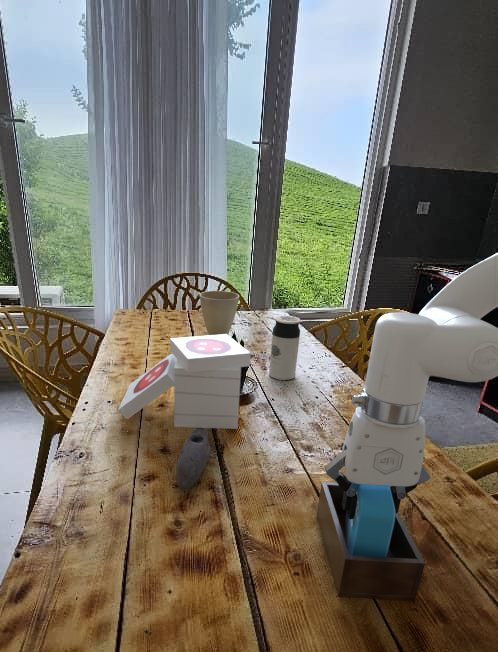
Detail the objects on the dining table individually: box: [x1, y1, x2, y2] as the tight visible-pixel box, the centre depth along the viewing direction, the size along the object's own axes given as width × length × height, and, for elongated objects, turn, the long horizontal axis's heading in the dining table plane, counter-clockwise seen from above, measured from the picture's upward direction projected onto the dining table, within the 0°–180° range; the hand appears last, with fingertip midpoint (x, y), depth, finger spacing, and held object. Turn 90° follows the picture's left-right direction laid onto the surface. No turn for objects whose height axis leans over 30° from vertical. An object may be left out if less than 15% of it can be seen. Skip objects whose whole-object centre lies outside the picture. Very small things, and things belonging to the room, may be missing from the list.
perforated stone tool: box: [175, 428, 211, 492], centre depth 85 cm, size 15×5×7 cm, turn 167°
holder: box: [316, 481, 426, 602], centre depth 68 cm, size 11×17×7 cm, turn 178°
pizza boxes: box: [117, 334, 252, 430], centre depth 107 cm, size 19×30×18 cm, turn 90°
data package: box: [345, 484, 395, 557], centre depth 67 cm, size 12×4×12 cm, turn 168°
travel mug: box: [268, 315, 301, 381], centre depth 133 cm, size 8×8×18 cm
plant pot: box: [199, 290, 240, 335], centre depth 169 cm, size 15×15×16 cm
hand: (368, 513), depth 67 cm, fingers closed on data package, 5 cm apart
